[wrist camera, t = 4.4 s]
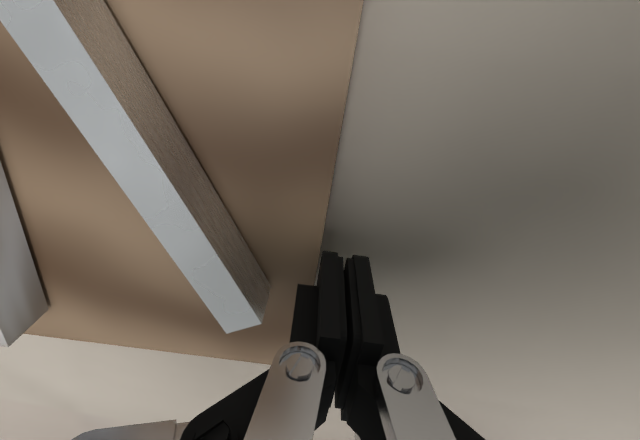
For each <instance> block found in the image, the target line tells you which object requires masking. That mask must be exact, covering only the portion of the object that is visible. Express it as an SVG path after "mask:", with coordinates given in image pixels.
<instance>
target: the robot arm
mask: <svg viewBox="0 0 640 440" xmlns="http://www.w3.org/2000/svg"><path fill="white" fill-rule="evenodd" d="M334 391H335V408H340V409H341V420H343V421H347V424H348V425H349V426H350V427H351V428H352V429H353V431H354V432H355V440H485V439H484V438H483V437H481V436H480V435H479V434H478V433H477V432H476V431H474V430H473V429H472V428H471V427H470V426H468V425H467V424H466V423H465V422H464V421H463V420H461V419H460V418H459V417H458V416H457V415H455V414H454V413H453V412H452V411H451V410H449V409H448V408H447V407H446V406H445V405H444V404H442V403H441V402H440V401H439V400H438V398H437V396H436V394H435V391H434V389H433V387H432V385H431V383H430V380H429V378H428V376H427V374H426V372H425V371H424V369H423V368H422V367H421V366H420V365H419V364H418V363H417V362H416V361H415V360H413V359H412V358H410V357H408V356H405V355H403V354H400V349H399V345H398V341H397V336H396V332H395V327H394V323H393V318H392V314H391V310H390V305H389V301H388V298H387V296H386V295H381V294H375V290H374V284H373V279H372V273H371V268H370V262H369V257H366V256H358V255H353V256H352V259H351V258H347V260H346V264H345V268H344V267H343V257H338V253H336V252H329V251H323V252H322V257H321V263H320V269H319V274H318V280H317V286H312V285H304V284H298V285H297V292H296V300H295V307H294V314H293V321H292V328H291V335H290V342H289V343H288V344H286V345H284V346H282V347H281V348H280V349H279V350H278V351H277V353H276V355H275V356H274V359H273V362H272V364H271V367H270V369H269V370H267V371H265V372H264V373H262V374H261V375H259V376H258V377H256V378H255V379H253V380H252V381H250V382H248V383H247V384H245V385H244V386H242V387H241V388H239V389H238V390H236V391H234V392H233V393H231V394H230V395H228V396H227V397H225V398H224V399H222V400H220V401H219V402H217V403H216V404H214V405H213V406H211V407H210V408H208V409H207V410H205V411H203V412H202V413H200V414H199V415H197V416H196V417H195V418H194V419H193V420H191V421H190V422H185V423H176V420H169V421H161V422H153V423H144V424H136V425H128V426H120V427H112V428H104V429H95V430H92V431H88V432H85V433H82V434H80V435H79V436H77V437H75V438H73V439H72V440H313V435H314V431H315V430H316V429H317V428H318V427H319V426H320V425H322V424H323V423H324V422H325V421H326V417H327V413H328V409H329V407H331V403H332V399H333V395H334Z"/></svg>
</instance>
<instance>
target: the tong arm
mask: <svg viewBox="0 0 640 440" xmlns="http://www.w3.org/2000/svg"><path fill="white" fill-rule="evenodd" d="M0 21H1V22H2V24H3V25H4V27H5V28H6V29H7V31H8V32H9V34H10V35H11V36H12V38H13V39H14V40H15V42H16V43H17V45H18V46H19V47H20V49H21V50H22V52H23V53H24V54H25V56H26V57H27V58H28V60H29V61H30V63H31V64H32V65H33V67H34V68H35V69H36V71H37V72H38V74H39V75H40V76H41V78H42V79H43V81H44V82H45V83H46V85H47V86H48V87H49V89H50V90H51V92H52V93H53V94H54V96H55V97H56V99H57V100H58V101H59V103H60V104H61V105H62V107H63V108H64V110H65V111H66V112H67V114H68V115H69V117H70V118H71V119H72V121H73V122H74V123H75V125H76V126H77V128H78V129H79V130H80V132H81V133H82V135H83V136H84V137H85V139H86V140H87V141H88V143H89V144H90V146H91V147H92V148H93V150H94V151H95V153H96V154H97V155H98V157H99V158H100V159H101V161H102V162H103V164H104V165H105V166H106V168H107V169H108V170H109V172H110V173H111V175H112V176H113V177H114V179H115V180H116V182H117V183H118V184H119V186H120V187H121V188H122V190H123V191H124V193H125V194H126V195H127V197H128V198H129V200H130V201H131V202H132V204H133V205H134V206H135V208H136V209H137V211H138V212H139V213H140V215H141V216H142V218H143V219H144V220H145V222H146V223H147V224H148V226H149V227H150V229H151V230H152V231H153V233H154V234H155V236H156V237H157V238H158V240H159V241H160V242H161V244H162V245H163V247H164V248H165V249H166V251H167V252H168V253H169V255H170V256H171V258H172V259H173V260H174V262H175V263H176V265H177V266H178V267H179V269H180V270H181V271H182V273H183V274H184V276H185V277H186V278H187V280H188V281H189V283H190V284H191V285H192V287H193V288H194V289H195V291H196V292H197V294H198V295H199V296H200V298H201V299H202V301H203V302H204V303H205V305H206V306H207V307H208V309H209V310H210V312H211V313H212V314H213V316H214V317H215V319H216V320H217V321H218V323H219V324H220V325H221V327H222V328H223V330H224V331H225V332H226V334H227V333H231V332H234V331H238V330H241V329H245V328H249V327H252V326H256V325H259V324H262V321H263V317H264V313H265V309H266V305H267V301H268V297H269V293H270V289H271V285H270V284H269V282H268V280H267V278H266V277H265V275H264V273H263V272H262V270H261V268H260V266H259V265H258V263H257V261H256V260H255V258H254V256H253V255H252V253H251V251H250V249H249V248H248V246H247V244H246V243H245V241H244V239H243V237H242V236H241V234H240V232H239V231H238V229H237V227H236V225H235V224H234V222H233V220H232V219H231V217H230V215H229V214H228V212H227V210H226V208H225V207H224V205H223V203H222V202H221V200H220V198H219V196H218V195H217V193H216V191H215V190H214V188H213V186H212V184H211V183H210V181H209V179H208V178H207V176H206V174H205V173H204V171H203V169H202V167H201V166H200V164H199V162H198V161H197V159H196V157H195V155H194V154H193V152H192V150H191V149H190V147H189V145H188V143H187V142H186V140H185V138H184V137H183V135H182V133H181V132H180V130H179V128H178V126H177V125H176V123H175V121H174V120H173V118H172V116H171V114H170V113H169V111H168V109H167V108H166V106H165V104H164V102H163V101H162V99H161V97H160V96H159V94H158V92H157V91H156V89H155V87H154V85H153V84H152V82H151V80H150V79H149V77H148V75H147V73H146V72H145V70H144V68H143V67H142V65H141V63H140V61H139V60H138V58H137V56H136V55H135V53H134V51H133V50H132V48H131V46H130V44H129V43H128V41H127V39H126V38H125V36H124V34H123V32H122V31H121V29H120V27H119V26H118V24H117V22H116V20H115V19H114V17H113V15H112V14H111V12H110V10H109V9H108V7H107V5H106V3H105V2H104V0H0Z"/></svg>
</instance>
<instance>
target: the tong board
mask: <svg viewBox="0 0 640 440" xmlns="http://www.w3.org/2000/svg"><path fill="white" fill-rule="evenodd" d="M363 1H364V0H104V2H105V3H106V5H107V7H108V9H109V10H110V12H111V14H112V15H113V17H114V19H115V20H116V22H117V24H118V26H119V27H120V29H121V31H122V32H123V34H124V36H125V38H126V39H127V41H128V43H129V44H130V46H131V48H132V50H133V51H134V53H135V55H136V56H137V58H138V60H139V61H140V63H141V65H142V67H143V68H144V70H145V72H146V73H147V75H148V77H149V79H150V80H151V82H152V84H153V85H154V87H155V89H156V91H157V92H158V94H159V96H160V97H161V99H162V101H163V102H164V104H165V106H166V108H167V109H168V111H169V113H170V114H171V116H172V118H173V120H174V121H175V123H176V125H177V126H178V128H179V130H180V132H181V133H182V135H183V137H184V138H185V140H186V142H187V143H188V145H189V147H190V149H191V150H192V152H193V154H194V155H195V157H196V159H197V161H198V162H199V164H200V166H201V167H202V169H203V171H204V173H205V174H206V176H207V178H208V179H209V181H210V183H211V184H212V186H213V188H214V190H215V191H216V193H217V195H218V196H219V198H220V200H221V202H222V203H223V205H224V207H225V208H226V210H227V212H228V214H229V215H230V217H231V219H232V220H233V222H234V224H235V225H236V227H237V229H238V231H239V232H240V234H241V236H242V237H243V239H244V241H245V243H246V244H247V246H248V248H249V249H250V251H251V253H252V255H253V256H254V258H255V260H256V261H257V263H258V265H259V266H260V268H261V270H262V272H263V273H264V275H265V277H266V278H267V280H268V282H269V284H270V285H271V289H270V293H269V297H268V301H267V305H266V309H265V313H264V317H263V321H262V324H259V325H256V326H252V327H249V328H245V329H241V330H238V331H234V332H231V333H227V334H226V332H225V331H224V330H223V328H222V327H221V325H220V324H219V323H218V321H217V320H216V319H215V317H214V316H213V314H212V313H211V312H210V310H209V309H208V307H207V306H206V305H205V303H204V302H203V301H202V299H201V298H200V296H199V295H198V294H197V292H196V291H195V289H194V288H193V287H192V285H191V284H190V283H189V281H188V280H187V278H186V277H185V276H184V274H183V273H182V271H181V270H180V269H179V267H178V266H177V265H176V263H175V262H174V260H173V259H172V258H171V256H170V255H169V253H168V252H167V251H166V249H165V248H164V247H163V245H162V244H161V242H160V241H159V240H158V238H157V237H156V236H155V234H154V233H153V231H152V230H151V229H150V227H149V226H148V224H147V223H146V222H145V220H144V219H143V218H142V216H141V215H140V213H139V212H138V211H137V209H136V208H135V206H134V205H133V204H132V202H131V201H130V200H129V198H128V197H127V195H126V194H125V193H124V191H123V190H122V188H121V187H120V186H119V184H118V183H117V182H116V180H115V179H114V177H113V176H112V175H111V173H110V172H109V170H108V169H107V168H106V166H105V165H104V164H103V162H102V161H101V159H100V158H99V157H98V155H97V154H96V153H95V151H94V150H93V148H92V147H91V146H90V144H89V143H88V141H87V140H86V139H85V137H84V136H83V135H82V133H81V132H80V130H79V129H78V128H77V126H76V125H75V123H74V122H73V121H72V119H71V118H70V117H69V115H68V114H67V112H66V111H65V110H64V108H63V107H62V105H61V104H60V103H59V101H58V100H57V99H56V97H55V96H54V94H53V93H52V92H51V90H50V89H49V87H48V86H47V85H46V83H45V82H44V81H43V79H42V78H41V76H40V75H39V74H38V72H37V71H36V69H35V68H34V67H33V65H32V64H31V63H30V61H29V60H28V58H27V57H26V56H25V54H24V53H23V52H22V50H21V49H20V47H19V46H18V45H17V43H16V42H15V40H14V39H13V38H12V36H11V35H10V34H9V32H8V31H7V29H6V28H5V27H4V25H3V24H2V22H1V21H0V346H3V347H9V346H10V345H11V344H12V343H13V342H14V341H15V340H17V339H18V338H19V337H20V336H21V335H22V334H31V335H39V336H47V337H54V338H62V339H70V340H78V341H86V342H94V343H102V344H110V345H118V346H126V347H134V348H142V349H150V350H158V351H166V352H174V353H182V354H190V355H198V356H206V357H214V358H221V359H229V360H237V361H245V362H253V363H261V364H269V365H271V364H272V362H273V359H274V356H275V355H276V353H277V351H278V350H279V349H280V348H281V347H282V346H284V345H286V344H288V343H289V342H290V335H291V328H292V321H293V314H294V307H295V300H296V292H297V285H298V284H304V285H312V286H314V283H315V278H316V272H317V266H318V260H319V255H320V249H321V243H322V237H323V232H324V226H325V220H326V214H327V208H328V203H329V197H330V191H331V185H332V180H333V174H334V168H335V162H336V156H337V151H338V145H339V139H340V133H341V128H342V122H343V116H344V110H345V104H346V99H347V93H348V87H349V81H350V76H351V70H352V64H353V58H354V53H355V47H356V41H357V35H358V29H359V24H360V18H361V12H362V6H363Z"/></svg>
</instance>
